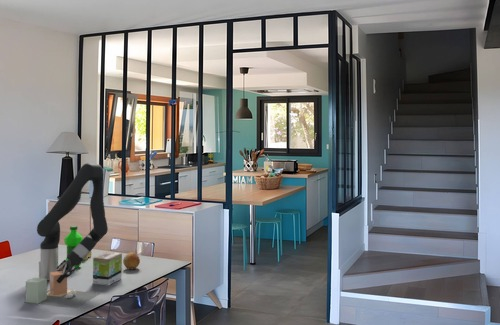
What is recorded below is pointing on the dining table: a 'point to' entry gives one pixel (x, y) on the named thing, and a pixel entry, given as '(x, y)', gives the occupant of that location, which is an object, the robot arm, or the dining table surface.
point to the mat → (68, 299)
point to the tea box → (107, 268)
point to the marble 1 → (69, 295)
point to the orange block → (54, 285)
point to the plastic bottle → (72, 241)
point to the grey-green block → (36, 290)
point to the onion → (131, 260)
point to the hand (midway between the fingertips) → (55, 280)
